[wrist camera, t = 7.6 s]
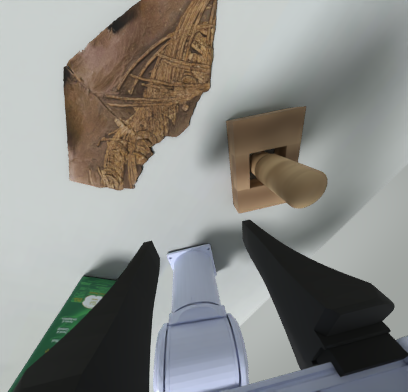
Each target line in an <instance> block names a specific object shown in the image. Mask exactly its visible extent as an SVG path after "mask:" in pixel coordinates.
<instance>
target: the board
mask: <svg viewBox="0 0 408 392" xmlns="http://www.w3.org/2000/svg"><path fill="white" fill-rule="evenodd" d="M305 111H306V106H304V107H293V108H287V109H282V110H277V111H272V112H267V113H262V114H257V115H253V116H248V117H243V118H238V119H233V120H228V121H226V125H227V136H228V147H229V159H230V170H231V182H232V193H233V205H234V206H235V208H236V209H237V211H238V213H244V212H248V211H252V210H257V209H261V208H265V207H270V206H274V205H278V204H283V203H286V202H285V201H284V200H283V199H281V198H280V197H279V196H278V195H276V194H275V193H274V192H273V191H271V190H270V189H269V188H268V187H266V186H265V185H264V184H263V183H261V182H260V181H259V180H258V179H257V178H255V179H250V165H249V154H250V153H255V152H259V151H264V150H269V149H273V148H274V154H277V155H279V156H282V157H285V158H287V159H290V160H293V161H295V162H298V157H299V150H300V144H301V137H302V131H303V124H304V118H305Z"/></svg>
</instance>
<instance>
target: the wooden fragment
mask: <svg viewBox="0 0 408 392" xmlns="http://www.w3.org/2000/svg"><path fill="white" fill-rule="evenodd" d="M216 9H217V0H141V1H139V2H138V3H137V4H135V5H134V6H132V7H131V8H130V9H129V10H128V11H126V12H125V13H124V14H123V15H122V16H121V17H119V18H118V19H117V20H116V21H113V23H112V24H110V25H109V26H108V27H107V28H106V29H105V30H104V31H102V32H101V33H100V34H99V35H98V36H97V37H96V38H95V39H93V41H91V42H89V44H88V45H87V47H86V48H85V50H82V52H80V51H79V52H78V53H77V54H76V55H75V56H74V57H73V58H72V59H70V60H69V62H68V64H67V66H68V67H69V68H70V69H71V70H72V72H73V73H74V74H73V73H72V72H71V71H70V69H68V67H67V66H65V67H64V79H63V81H64V95H65V112H66V125H67V143H68V151H69V154H68V156H69V173H70V174H69V179H70V180H71V181H74V182H79V183H83V184H87V185H91V186H95V187H99V188H103V187H108V188H112V189H115V190H123V189H124V188H129V189H134V188H135V187H134V184H135V183H136V180H137V177H138V176H139V175H140V173H141V170H142V165H144V163H146V161H147V160H148V159H149V157H151V156H152V155H153V154H154V153H153V152H152V150H151V147H152V146H153V145H155V144H156V143H159V142H160V141H162V139H164V137H165V136H171V137H177V136H178V135H180V134H181V133H182V132H183V131H184V130H185V129H186V128H187V127H188V126H189V120H190V117H191V116H192V114H193V110H194V108H195V106H196V102H198V100H199V99H200V96H201V95H202V93H203V92H207V91H208V90H209V89H210V79H211V65H212V61H213V50H214V49H213V46H212V43H213V40H214V33H215V25H216Z"/></svg>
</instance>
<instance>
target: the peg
mask: <svg viewBox="0 0 408 392" xmlns="http://www.w3.org/2000/svg"><path fill="white" fill-rule="evenodd" d="M249 165H250V172H251V173H253V174H254V175H255V176H256V178H257V179H258V180H259V181H260V182H261V183H263V184H264V185H265V186H266V187H268V188H269V189H270V190H271V191H273V192H274V193H275V194H276V195H278V196H279V197H280V198H281V199H283V200H284V201H285V202H286V203H288V204H289V205H290V206H291V207H293V208H305V207H307V206H310V205H311V204H313V203H315V202H316V201H317V200H318V199H319V198H320V197H321V196H322V195H323V193H324V192H325V190H326V187H327V177H326V175H325V174H324V173H323V172H321V171H319V170H316V169H313V168H311V167H308V166H306V165H303V164H300V163H298V162H295V161H293V160H290V159H287V158H285V157H282V156H279V155H277V154H269V153H267V152H264V151H259V152H255V153H253V154H251V155H250V157H249Z"/></svg>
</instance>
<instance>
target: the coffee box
mask: <svg viewBox="0 0 408 392" xmlns="http://www.w3.org/2000/svg"><path fill="white" fill-rule="evenodd" d="M116 281H117V280H108V279H101V278H96V277H85V276H83V277H82V278H81V280H80V281H79V283H78V284H77V286H76V287H75V289H74V291H73V292H72V294H71V296H70V297H69V299H68V300H67V302H66V303H65V305H64V306H63V308H62V309H61V311H60V312H59V314H58V315H57V317H56V318H55V320H54V321H53V323H52V325H51V326H50V328H49V329H48V331H47V332H46V334H45V335H44V337H43V338H42V340H41V342H40V343H39V345H38V346H37V348H36V349H35V351H34V352H33V354H32V355H31V357H30V358H29V360H28V362H27V363H26V365H25V366H24V368H23V369H22V371H21V372H20V374H19V375H18V377H17V378H16V380H15V381H14V383H13V385H12V386H11V388H10V389H9V391H8V392H13V390H14V388H15V387H16V385H17V383H18V382H19V380H20V379H21V377H22V375H23V374H24V372H25V371H26V369H27V368H29V367H30V366H31V365H32V364H33V363H34V362H36V361H37V360H38V359H39V358H40V357H41V356H43V355H44V354H45V353H46V352H47V351H48V350H49V349H51V348H52V347H53V346H54V345H55V344H56V343H57V342H58V341H59V340H61V339H62V338H63V337H64V336H65V335H66V334H67V333H68V332H69V331H70V330H71V329H72V328H73V327H74V326H75V325H76V324H77V323H79V322H80V321H81V320H82V319H83V318H84V317H85V315H86V314H87V313H88V312H89V311H90V310H91V309H92V308H93V307H94V306H95V305H96V304H97V303H98V302H99V301H100V300H101V299H102V297H103V296H104V295H105V294H106V293H107V292H108V291H109V289H110V288H111V287H112V286H113V285H114V283H115V282H116Z"/></svg>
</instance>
